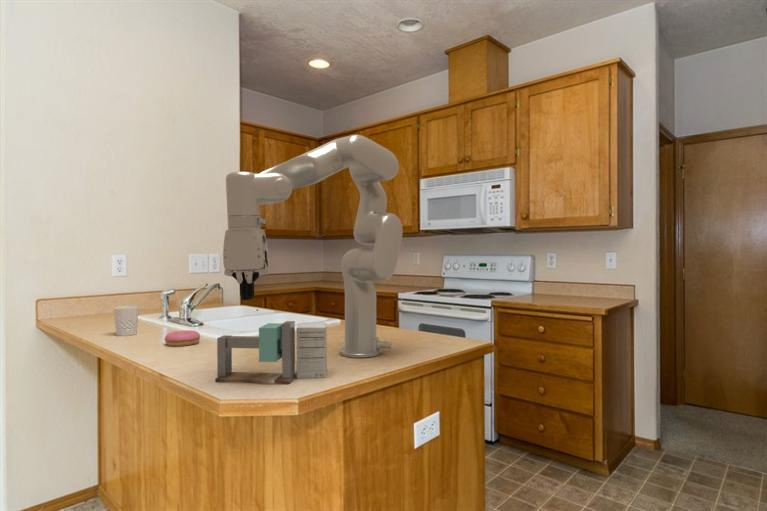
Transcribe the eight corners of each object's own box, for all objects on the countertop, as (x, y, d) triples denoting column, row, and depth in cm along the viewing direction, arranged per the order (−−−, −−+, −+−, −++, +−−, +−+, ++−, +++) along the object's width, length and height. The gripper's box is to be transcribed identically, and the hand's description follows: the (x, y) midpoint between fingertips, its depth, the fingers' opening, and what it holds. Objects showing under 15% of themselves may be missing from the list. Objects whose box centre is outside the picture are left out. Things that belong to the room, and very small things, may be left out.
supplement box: (298, 370, 122) (298, 322, 122) (327, 370, 123) (327, 321, 123) (296, 378, 115) (295, 327, 115) (326, 378, 116) (326, 326, 115)
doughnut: (170, 349, 149) (170, 336, 149) (160, 343, 157) (159, 331, 157) (205, 344, 156) (205, 331, 156) (193, 339, 164) (193, 327, 164)
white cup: (143, 333, 174) (142, 306, 174) (121, 337, 167) (121, 309, 167) (131, 331, 178) (130, 305, 178) (109, 335, 172) (109, 307, 171)
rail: (294, 378, 115) (294, 321, 115) (290, 382, 111) (290, 323, 111) (224, 376, 117) (223, 320, 117) (217, 380, 113) (217, 322, 113)
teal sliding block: (284, 355, 116) (284, 323, 116) (275, 362, 110) (275, 328, 110) (268, 355, 117) (268, 323, 117) (259, 361, 110) (258, 327, 110)
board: (296, 376, 116) (296, 373, 116) (288, 384, 110) (288, 380, 110) (226, 375, 118) (226, 371, 118) (215, 381, 112) (215, 378, 112)
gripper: (279, 223, 117) (282, 296, 118) (221, 225, 118) (224, 297, 119) (268, 222, 109) (272, 301, 110) (207, 224, 111) (211, 302, 112)
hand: (247, 299), depth 115 cm, fingers closed
